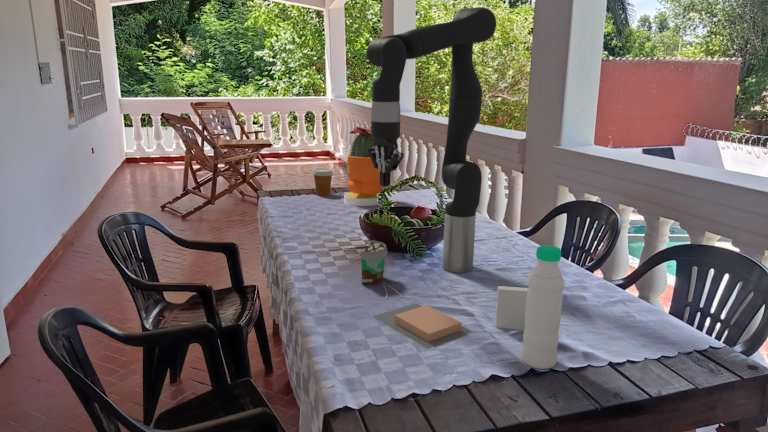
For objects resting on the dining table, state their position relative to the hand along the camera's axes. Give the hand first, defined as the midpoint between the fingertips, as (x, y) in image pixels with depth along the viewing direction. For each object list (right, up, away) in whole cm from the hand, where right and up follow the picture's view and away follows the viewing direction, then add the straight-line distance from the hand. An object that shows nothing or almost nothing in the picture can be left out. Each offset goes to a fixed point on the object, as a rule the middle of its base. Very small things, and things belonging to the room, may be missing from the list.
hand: (384, 185), depth 148 cm
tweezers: (+1, -29, +7) cm, 30 cm away
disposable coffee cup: (-29, +2, +122) cm, 126 cm away
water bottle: (+32, -38, -31) cm, 59 cm away
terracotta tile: (+6, -32, -12) cm, 34 cm away
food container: (-2, -26, +14) cm, 30 cm away
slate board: (+9, -34, -15) cm, 38 cm away
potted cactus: (-7, -2, +109) cm, 109 cm away
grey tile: (+30, -34, -16) cm, 48 cm away
